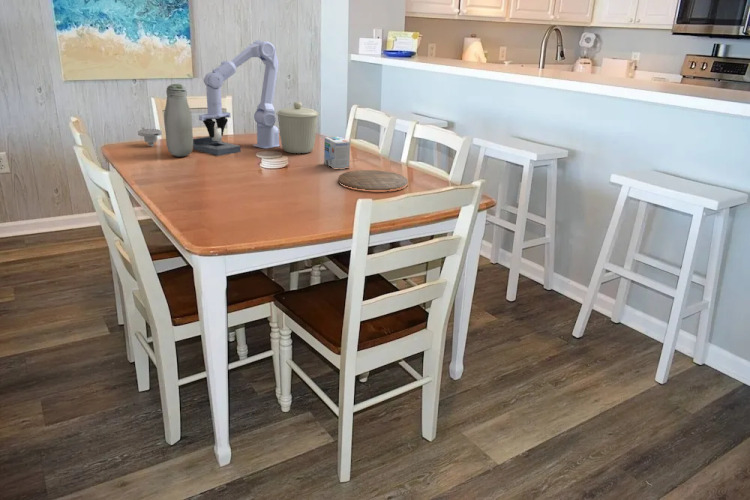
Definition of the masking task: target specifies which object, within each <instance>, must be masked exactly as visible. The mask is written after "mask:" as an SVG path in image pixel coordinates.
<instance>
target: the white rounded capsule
mask: <svg viewBox="0 0 750 500" xmlns="http://www.w3.org/2000/svg"><path fill="white" fill-rule="evenodd" d="M222 137H223V136H222V134H221V128H219V127H217V126H216V127H215V126H214V137H212V141H222V142H223V139H222Z"/></svg>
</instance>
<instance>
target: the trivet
mask: <svg viewBox="0 0 750 500" xmlns="http://www.w3.org/2000/svg"><path fill="white" fill-rule="evenodd" d="M337 178H338V181H339V182H340V183H341V184H343V185H345V186H348V187H352V188H357V189H365V190H390V189H396V188H400V187H403V186H405V185H406V184H407V183H408V184H409V181H408V180H409V179H408V178H407V177H406V176H404V175H402V174H399V173H396V172H391V171H385V170H376V169H375V170H374V169H373V170H372V169H359V170H350V171H346V172H343V173H341V174H339V175H338V177H337ZM338 181H337V182H338ZM339 182H338V183H339Z"/></svg>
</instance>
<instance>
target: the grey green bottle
mask: <svg viewBox="0 0 750 500" xmlns="http://www.w3.org/2000/svg"><path fill="white" fill-rule="evenodd" d="M166 87H167V88H166V90H165V91H166V103H165V108H164V112H163V119H164V121H163V122H164V132H165V141H166V149H167V150H168V153H170V155H172V156H174V157H177V158H181V157H182V158H183V157H186V156H189V155H190V154H191V153H192V152H193V139H194V135H193V116H192V115H193V114H192V112H191V108H190V106H189V103H188V98H187V97H188V94H187V93H188V92H187V89H186V87H185V86H184V85H183V84H180V83H174V84H172V83H171V84H170V85H168V86H166Z"/></svg>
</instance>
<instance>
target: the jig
mask: <svg viewBox="0 0 750 500" xmlns="http://www.w3.org/2000/svg"><path fill="white" fill-rule="evenodd" d="M241 149H242V148H241V145H238V144H233V143H231V142H230V143H229V142H225V141H223V140H222V141H212V137H210V136H209V135H208V136H203V137H198V138H193V149H192V151H193V150H194V151H197V152H202V153H205V154H209V155H213V156H217V157H219V156H225V155H231V154H235V153H237V154H238V153H241Z"/></svg>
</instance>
